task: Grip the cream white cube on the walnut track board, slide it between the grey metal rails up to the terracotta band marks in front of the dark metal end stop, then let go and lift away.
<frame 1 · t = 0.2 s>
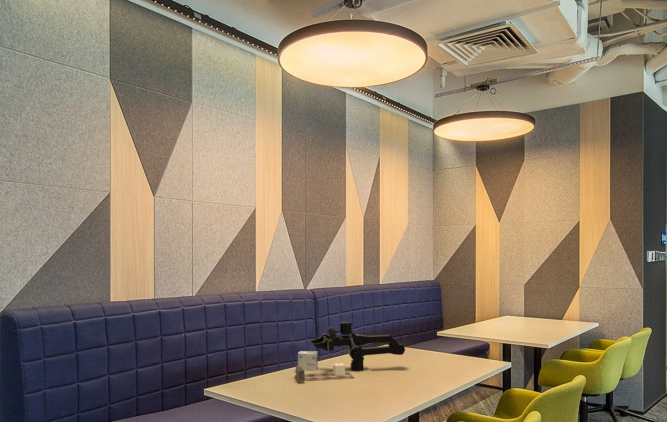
hand: (312, 343, 286), 17 cm above the table, tool horizontal, fingers open, 9 cm apart
track board: (324, 378, 274), on the table
cream white cube: (339, 370, 276), point 4 cm above the table, slide at 0.0 cm
light bulb box: (308, 371, 292), on the table
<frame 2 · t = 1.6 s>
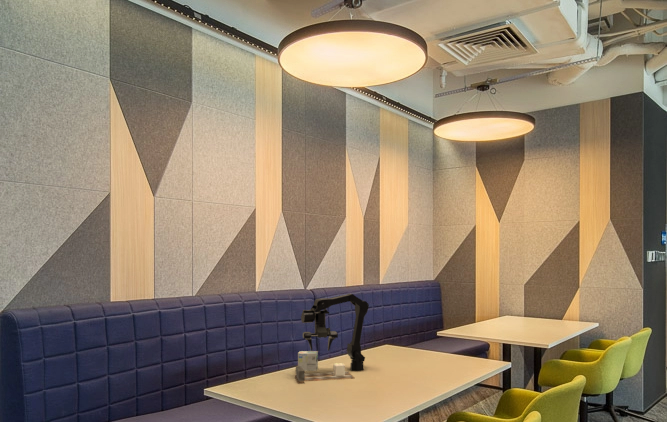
hand: (320, 350, 283), 13 cm above the table, tool pointing down, fingers open, 9 cm apart
nothing on the table moved.
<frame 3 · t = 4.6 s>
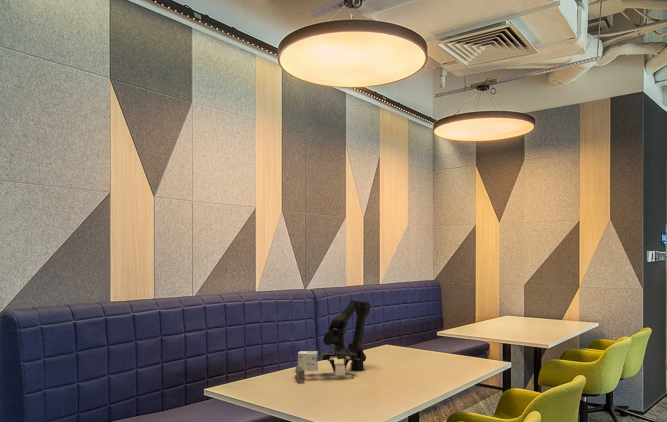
hand: (339, 372, 276), 3 cm above the table, tool pointing down, fingers closed on cream white cube, 5 cm apart
cream white cube: (339, 370, 276), point 4 cm above the table, slide at 0.0 cm, touching gripper
everything else where it was.
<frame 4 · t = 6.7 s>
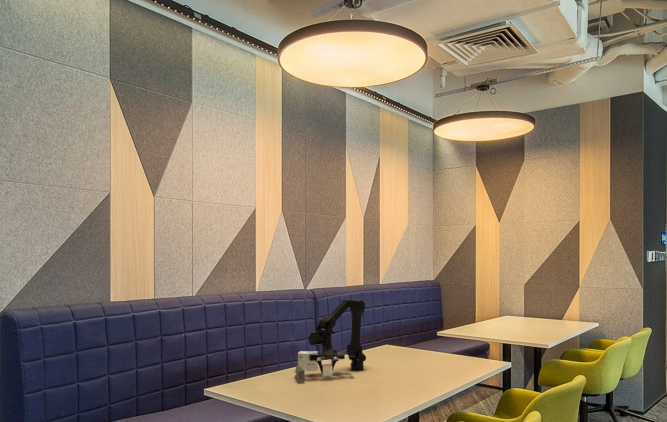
hand: (326, 372, 275), 3 cm above the table, tool pointing down, fingers closed on cream white cube, 5 cm apart
cream white cube: (326, 370, 275), point 4 cm above the table, slide at 6.8 cm, touching gripper
everything else where it was.
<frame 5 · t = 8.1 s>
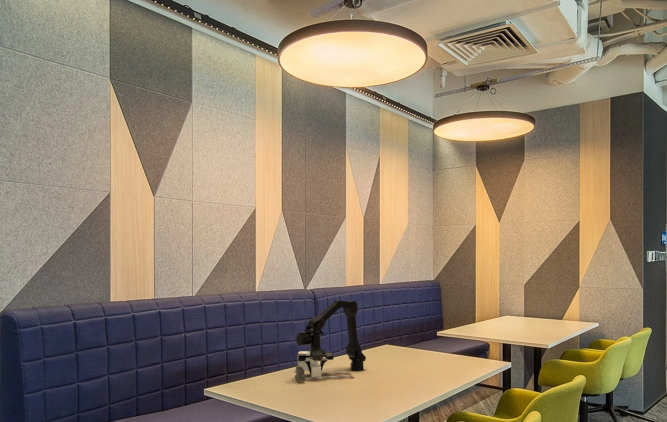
hand: (315, 373, 274), 3 cm above the table, tool pointing down, fingers closed on cream white cube, 5 cm apart
cream white cube: (315, 371, 274), point 4 cm above the table, slide at 12.8 cm, touching gripper
everything else where it was.
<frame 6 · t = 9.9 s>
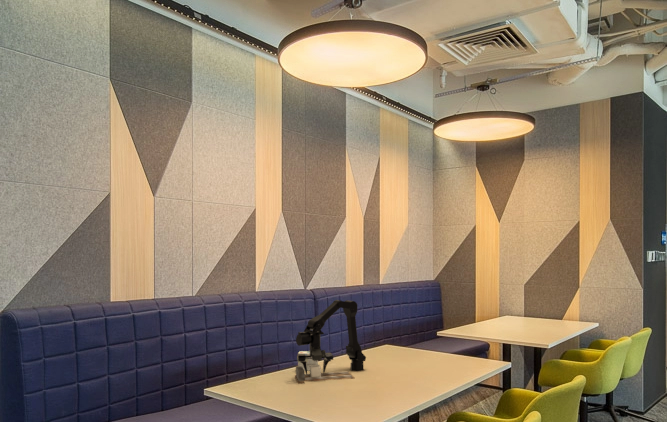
hand: (315, 373, 274), 3 cm above the table, tool pointing down, fingers open, 9 cm apart
cream white cube: (315, 371, 274), point 4 cm above the table, slide at 13.0 cm
everything else where it was.
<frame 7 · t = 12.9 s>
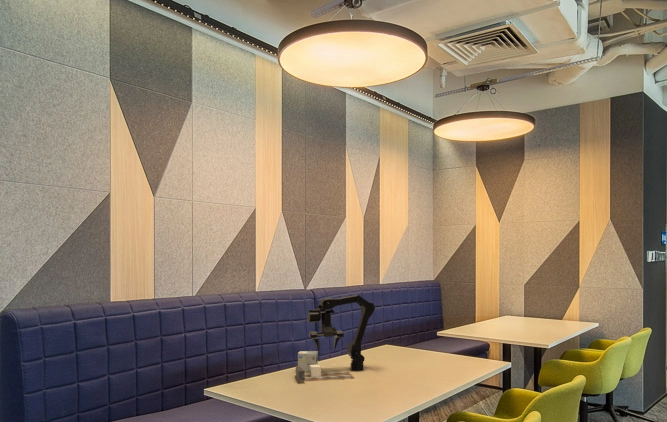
hand: (326, 350, 286), 13 cm above the table, tool pointing down, fingers open, 9 cm apart
nothing on the table moved.
at the end: cream white cube slide at 13.0 cm; the gripper is holding nothing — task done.
